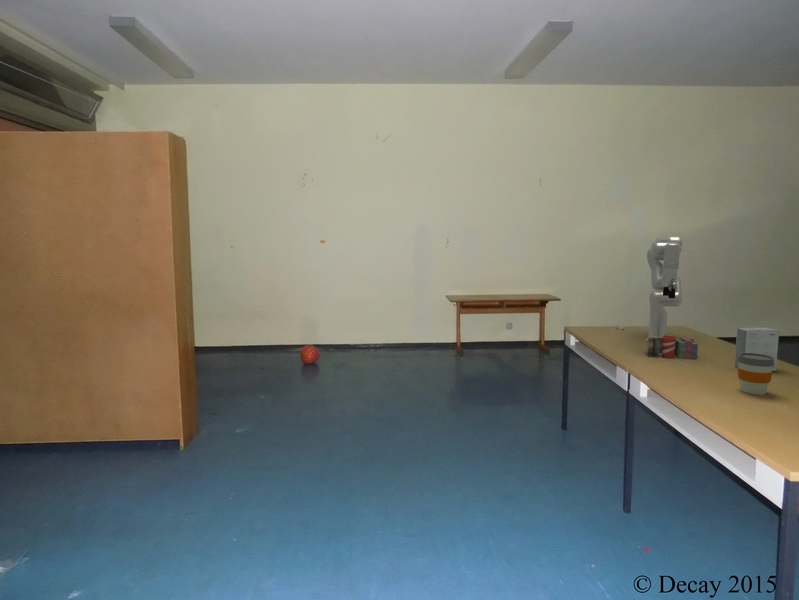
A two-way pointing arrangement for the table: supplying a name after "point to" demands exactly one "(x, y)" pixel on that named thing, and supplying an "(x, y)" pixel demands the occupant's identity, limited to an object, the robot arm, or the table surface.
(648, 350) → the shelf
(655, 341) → the bookend
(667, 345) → the beverage can
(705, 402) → the table surface
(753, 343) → the hard drive box
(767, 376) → the reusable coffee cup
